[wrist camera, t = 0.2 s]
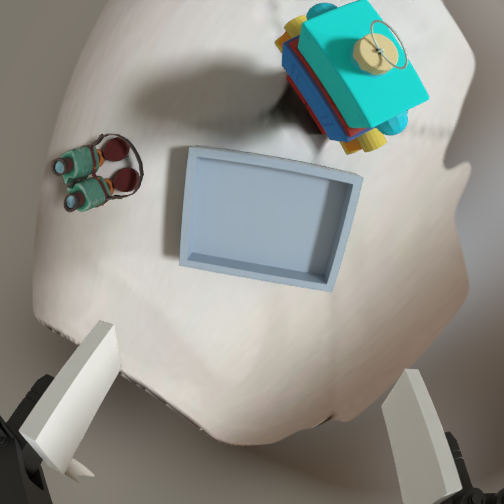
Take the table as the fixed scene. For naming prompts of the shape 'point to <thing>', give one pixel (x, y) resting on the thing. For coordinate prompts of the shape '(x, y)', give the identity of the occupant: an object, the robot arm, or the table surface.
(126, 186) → the binoculars
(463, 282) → the table surface
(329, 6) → the toy robot
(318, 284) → the light blue rectangular tray
